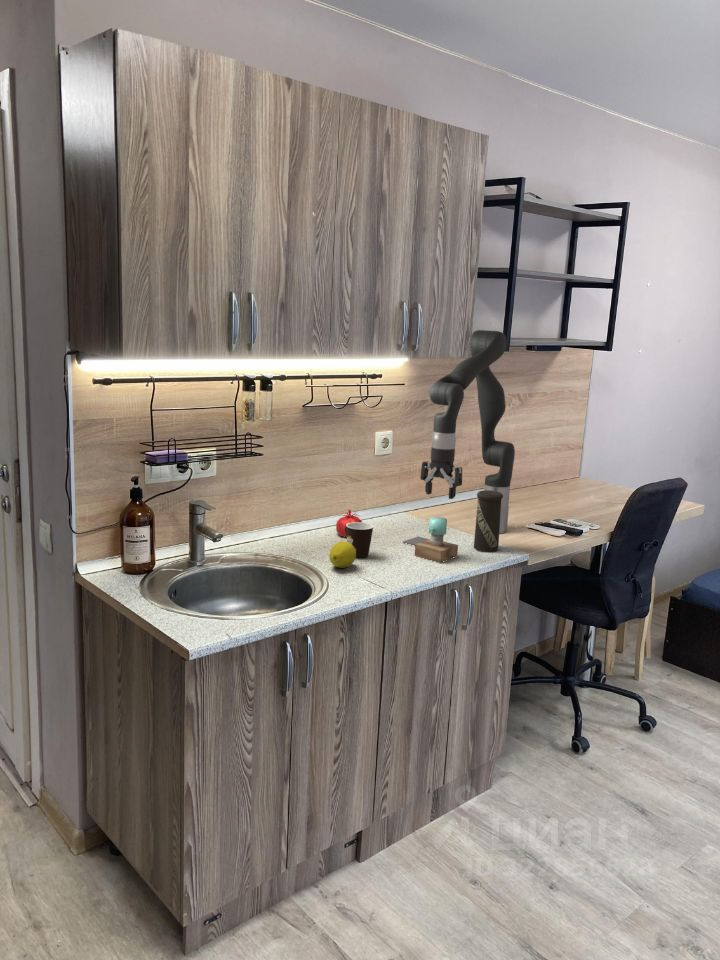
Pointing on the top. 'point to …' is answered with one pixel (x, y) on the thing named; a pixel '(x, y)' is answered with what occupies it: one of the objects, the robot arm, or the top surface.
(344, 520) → the pomegranate
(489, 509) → the container
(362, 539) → the coffee mug
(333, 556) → the lemon
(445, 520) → the teal rounded tabbed figurine
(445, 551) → the post block
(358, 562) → the top surface
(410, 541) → the coaster
